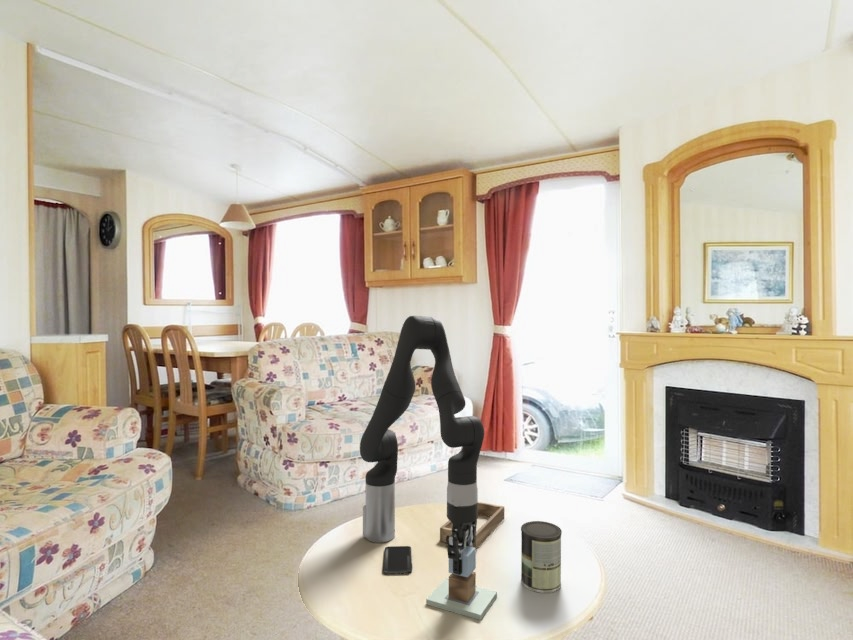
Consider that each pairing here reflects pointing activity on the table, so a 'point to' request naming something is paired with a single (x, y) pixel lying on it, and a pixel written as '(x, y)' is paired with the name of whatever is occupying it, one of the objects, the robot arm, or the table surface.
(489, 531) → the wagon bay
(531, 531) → the coffee can
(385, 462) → the robot arm
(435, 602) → the plate
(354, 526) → the table surface
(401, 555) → the phone
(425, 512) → the table surface
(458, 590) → the walnut block
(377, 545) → the table surface
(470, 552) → the blue block
